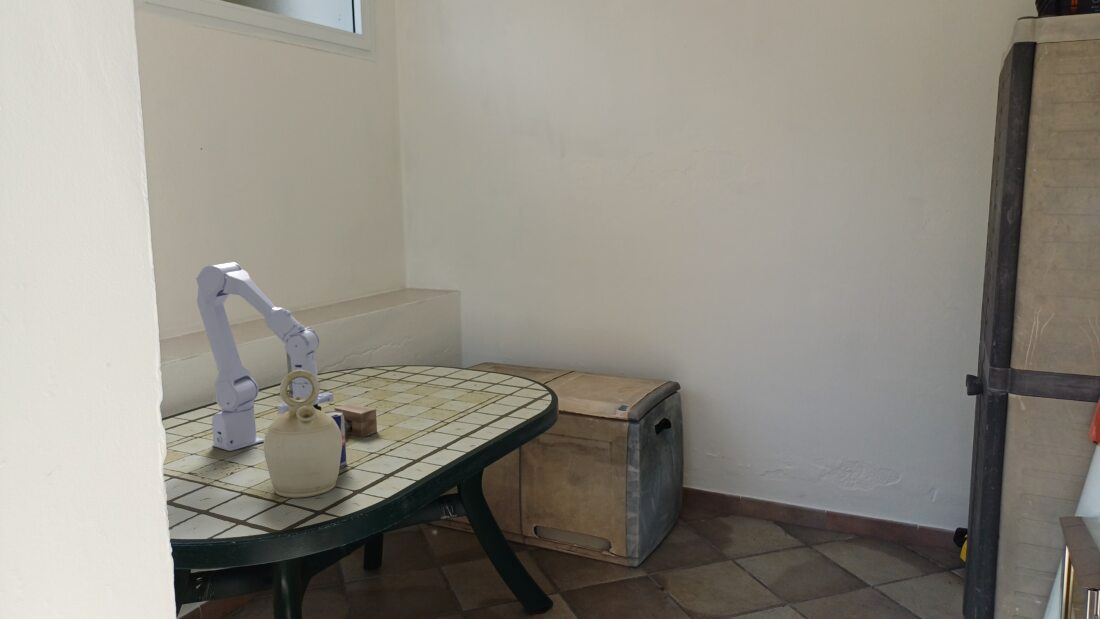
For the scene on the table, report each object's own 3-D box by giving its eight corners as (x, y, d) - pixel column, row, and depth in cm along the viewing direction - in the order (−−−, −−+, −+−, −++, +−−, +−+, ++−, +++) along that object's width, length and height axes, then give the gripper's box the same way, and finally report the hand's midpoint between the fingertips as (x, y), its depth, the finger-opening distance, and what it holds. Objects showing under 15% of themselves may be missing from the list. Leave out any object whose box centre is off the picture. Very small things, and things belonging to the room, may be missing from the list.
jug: (337, 499, 165) (330, 376, 161) (258, 503, 164) (249, 379, 160) (349, 473, 180) (343, 360, 176) (276, 476, 179) (269, 363, 175)
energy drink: (333, 471, 181) (330, 418, 180) (316, 467, 184) (313, 415, 182) (351, 464, 186) (348, 412, 184) (334, 460, 189) (331, 409, 187)
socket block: (361, 437, 206) (360, 413, 205) (335, 430, 212) (334, 407, 211) (377, 432, 210) (375, 409, 209) (351, 425, 216) (350, 403, 215)
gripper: (289, 389, 189) (293, 447, 191) (340, 377, 201) (343, 431, 203) (270, 385, 194) (274, 441, 196) (321, 373, 205) (325, 427, 207)
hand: (308, 436), depth 200 cm, fingers closed
